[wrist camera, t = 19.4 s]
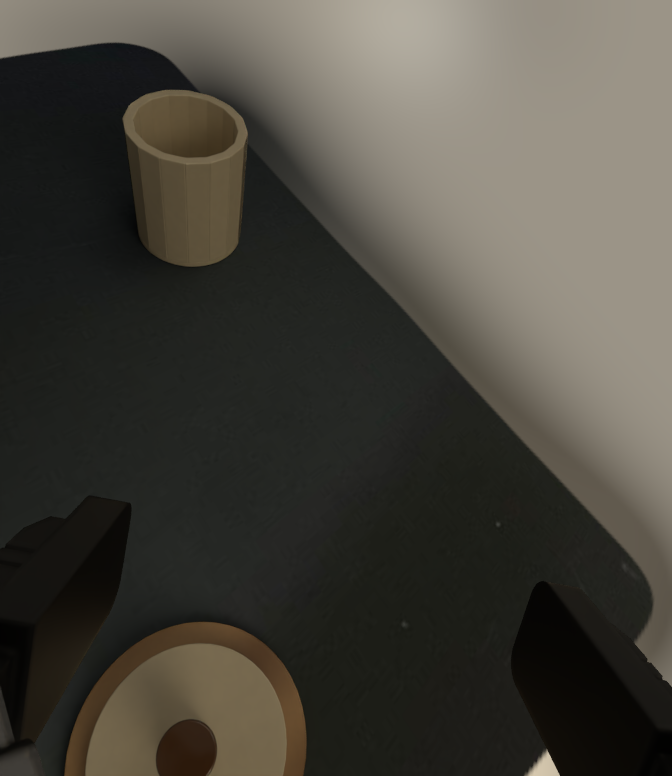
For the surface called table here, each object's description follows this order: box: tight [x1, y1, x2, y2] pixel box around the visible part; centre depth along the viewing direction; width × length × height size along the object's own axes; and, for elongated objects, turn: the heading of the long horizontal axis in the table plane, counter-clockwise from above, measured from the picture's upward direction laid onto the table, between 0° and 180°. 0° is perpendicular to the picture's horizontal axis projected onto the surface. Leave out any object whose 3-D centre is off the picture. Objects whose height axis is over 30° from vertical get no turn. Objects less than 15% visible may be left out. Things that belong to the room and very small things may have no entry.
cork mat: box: [64, 622, 307, 776], centre depth 24 cm, size 10×10×1 cm
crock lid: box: [85, 643, 287, 776], centre depth 21 cm, size 8×8×6 cm
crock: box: [123, 90, 248, 267], centre depth 36 cm, size 7×7×8 cm
